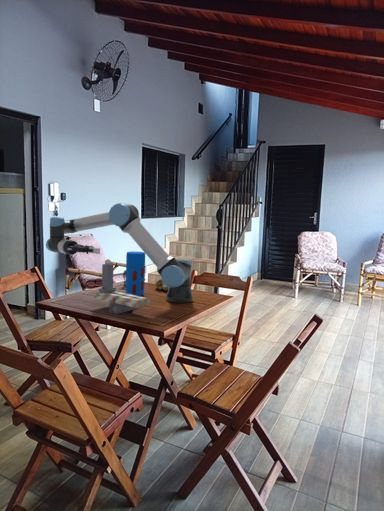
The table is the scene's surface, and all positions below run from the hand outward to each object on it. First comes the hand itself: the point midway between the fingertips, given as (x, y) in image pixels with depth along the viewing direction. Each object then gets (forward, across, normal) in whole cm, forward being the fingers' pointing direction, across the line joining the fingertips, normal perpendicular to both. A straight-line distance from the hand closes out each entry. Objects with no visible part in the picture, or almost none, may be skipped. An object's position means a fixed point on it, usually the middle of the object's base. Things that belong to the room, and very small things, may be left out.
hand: (98, 251), depth 187 cm
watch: (-22, -46, -28) cm, 58 cm away
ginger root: (+1, -56, -28) cm, 62 cm away
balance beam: (+16, 0, -28) cm, 32 cm away
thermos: (-2, -31, -28) cm, 42 cm away
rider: (+6, 0, -21) cm, 22 cm away
